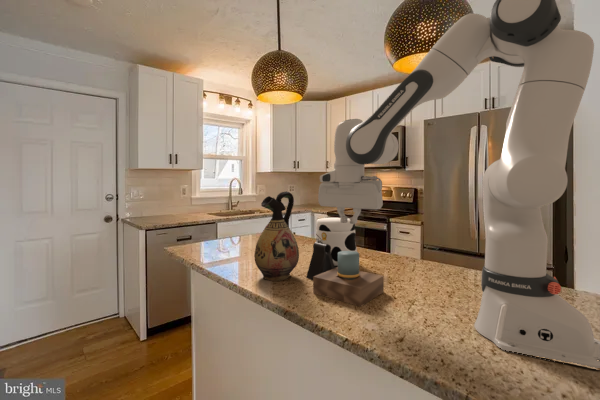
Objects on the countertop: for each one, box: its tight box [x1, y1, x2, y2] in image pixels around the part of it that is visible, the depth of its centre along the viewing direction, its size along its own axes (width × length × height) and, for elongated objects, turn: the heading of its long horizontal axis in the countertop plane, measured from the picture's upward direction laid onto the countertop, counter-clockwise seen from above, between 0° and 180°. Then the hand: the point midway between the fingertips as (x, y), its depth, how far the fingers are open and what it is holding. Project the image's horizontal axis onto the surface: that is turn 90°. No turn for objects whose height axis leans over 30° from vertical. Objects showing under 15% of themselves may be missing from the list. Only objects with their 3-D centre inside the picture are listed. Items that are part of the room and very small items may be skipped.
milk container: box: [315, 217, 358, 268], centre depth 126 cm, size 17×17×18 cm
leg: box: [338, 251, 360, 280], centre depth 95 cm, size 6×6×12 cm
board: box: [312, 267, 385, 307], centre depth 95 cm, size 16×14×5 cm
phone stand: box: [306, 241, 336, 281], centre depth 110 cm, size 9×6×12 cm, turn 126°
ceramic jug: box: [253, 191, 300, 282], centre depth 110 cm, size 17×15×30 cm
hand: (348, 223), depth 94 cm, fingers closed
